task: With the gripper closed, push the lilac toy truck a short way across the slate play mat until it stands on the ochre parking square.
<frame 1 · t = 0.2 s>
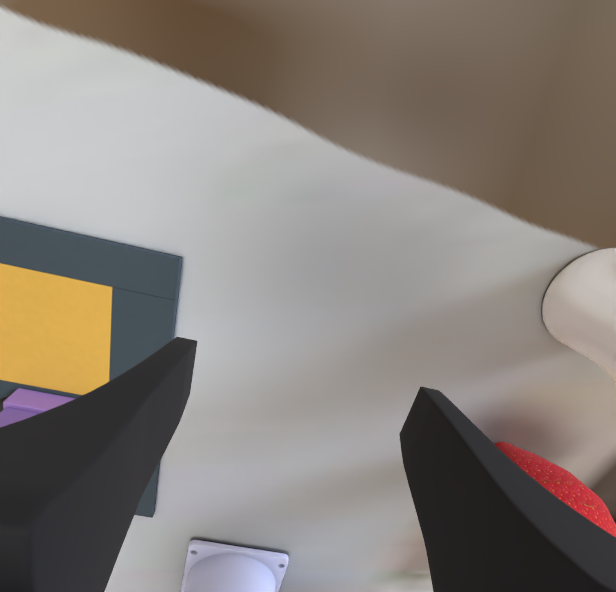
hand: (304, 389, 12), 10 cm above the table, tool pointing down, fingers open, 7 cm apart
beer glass: (593, 297, 22), on the table
play mat: (55, 385, 25), on the table
toy truck: (53, 431, 26), resting on play mat
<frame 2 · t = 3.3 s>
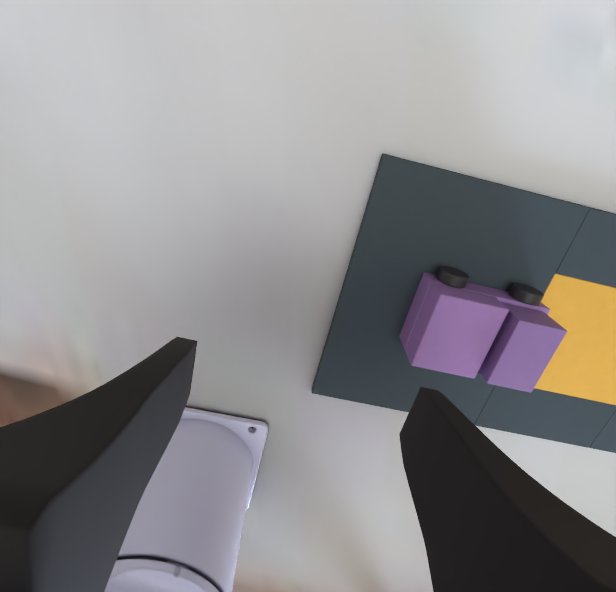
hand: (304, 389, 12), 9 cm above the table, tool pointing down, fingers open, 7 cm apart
play mat: (521, 327, 22), on the table
toy truck: (465, 317, 21), resting on play mat
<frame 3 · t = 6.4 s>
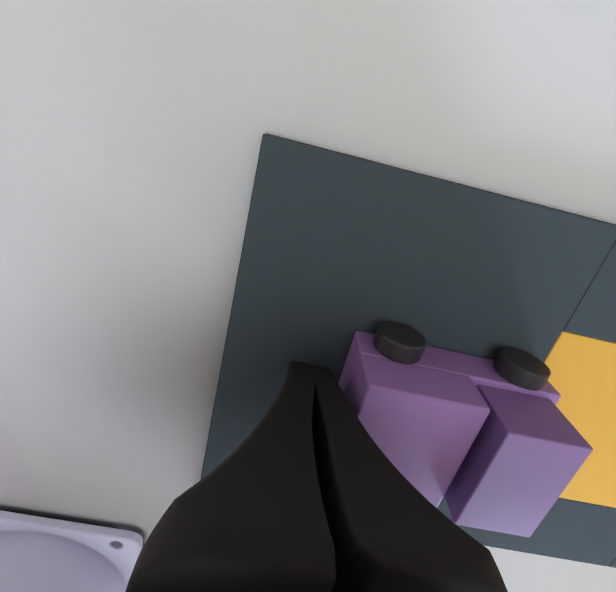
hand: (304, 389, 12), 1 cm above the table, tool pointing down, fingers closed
play mat: (508, 406, 14), on the table
toy truck: (427, 396, 14), resting on play mat, touching gripper
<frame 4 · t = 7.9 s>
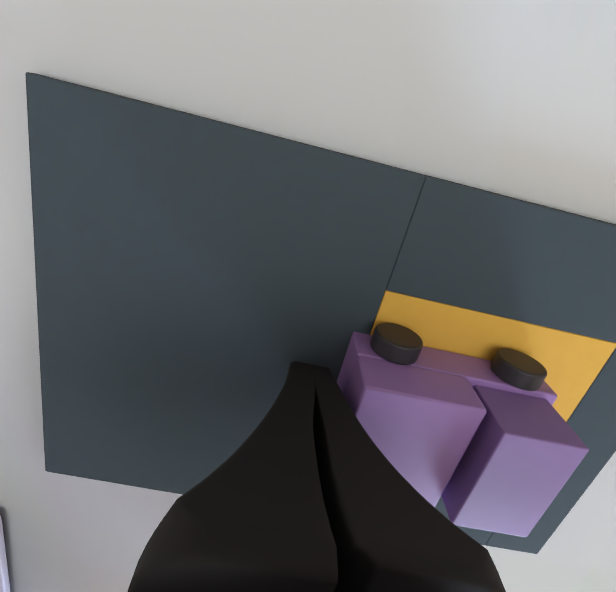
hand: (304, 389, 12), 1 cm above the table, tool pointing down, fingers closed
play mat: (352, 374, 14), on the table
toy truck: (424, 397, 14), resting on play mat, touching gripper
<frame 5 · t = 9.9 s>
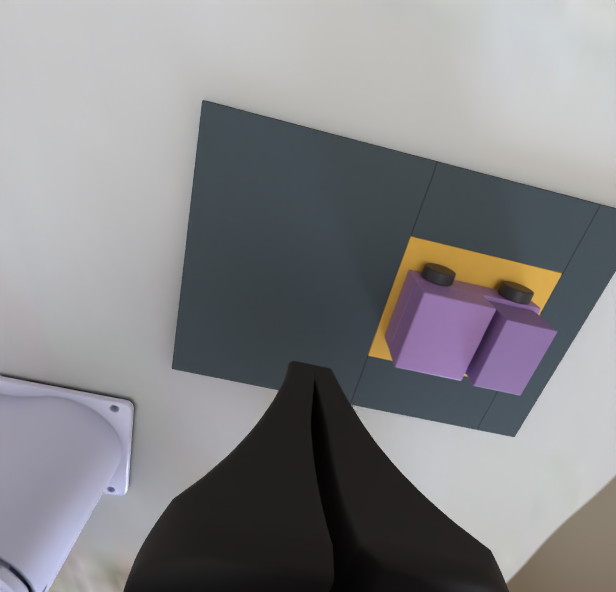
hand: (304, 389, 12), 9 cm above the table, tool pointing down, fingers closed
play mat: (386, 297, 20), on the table
toy truck: (453, 316, 20), resting on play mat
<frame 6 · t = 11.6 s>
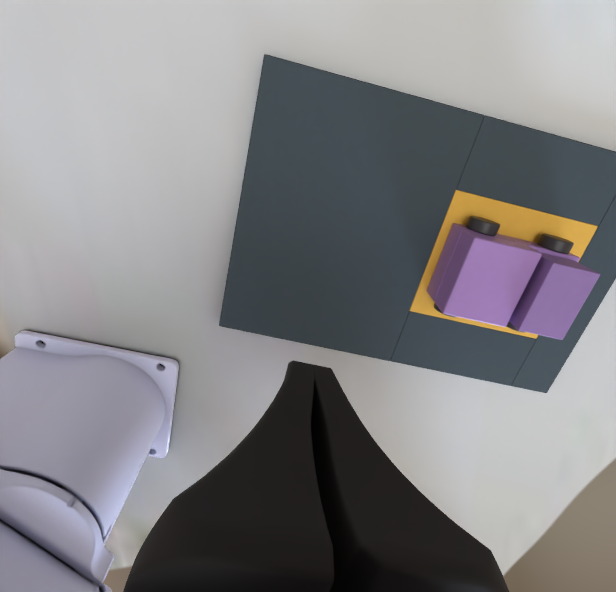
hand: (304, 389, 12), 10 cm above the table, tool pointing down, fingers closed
play mat: (429, 252, 21), on the table
toy truck: (493, 270, 21), resting on play mat
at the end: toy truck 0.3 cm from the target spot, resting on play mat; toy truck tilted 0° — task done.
